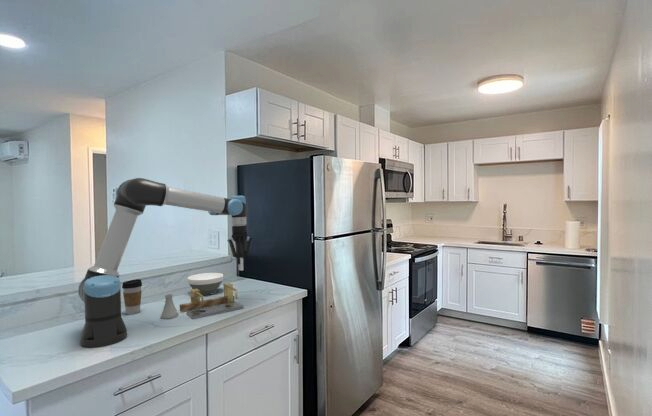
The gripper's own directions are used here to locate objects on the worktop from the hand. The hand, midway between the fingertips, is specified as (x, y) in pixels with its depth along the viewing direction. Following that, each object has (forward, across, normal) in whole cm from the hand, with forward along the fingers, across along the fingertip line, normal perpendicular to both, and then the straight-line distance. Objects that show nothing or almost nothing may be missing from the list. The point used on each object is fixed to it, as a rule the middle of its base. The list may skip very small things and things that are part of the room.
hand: (241, 270), depth 186 cm
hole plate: (+15, -18, -11) cm, 26 cm away
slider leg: (+15, -7, -4) cm, 17 cm away
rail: (+15, -18, -4) cm, 24 cm away
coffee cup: (+15, -49, +14) cm, 53 cm away
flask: (+15, -37, -5) cm, 40 cm away
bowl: (+16, -10, +28) cm, 34 cm away
